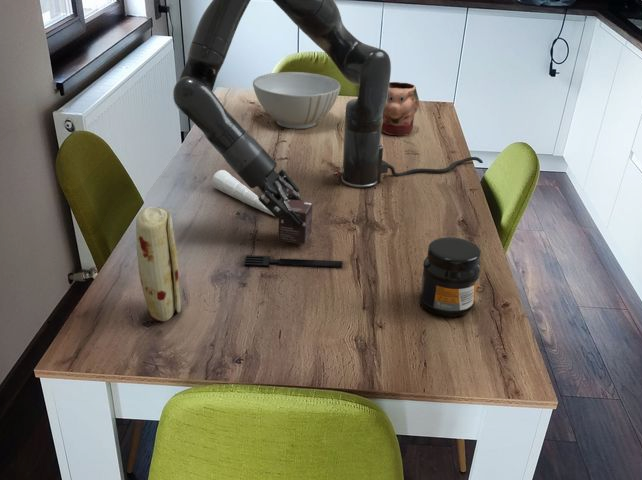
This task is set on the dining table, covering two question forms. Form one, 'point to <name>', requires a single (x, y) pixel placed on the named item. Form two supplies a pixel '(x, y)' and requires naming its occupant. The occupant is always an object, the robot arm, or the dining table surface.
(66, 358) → the dining table surface
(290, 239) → the box
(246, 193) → the unicorn horn
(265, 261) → the fork
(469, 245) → the supplement container
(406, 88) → the decorative planter
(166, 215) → the food model
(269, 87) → the decorative bowl
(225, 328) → the dining table surface
